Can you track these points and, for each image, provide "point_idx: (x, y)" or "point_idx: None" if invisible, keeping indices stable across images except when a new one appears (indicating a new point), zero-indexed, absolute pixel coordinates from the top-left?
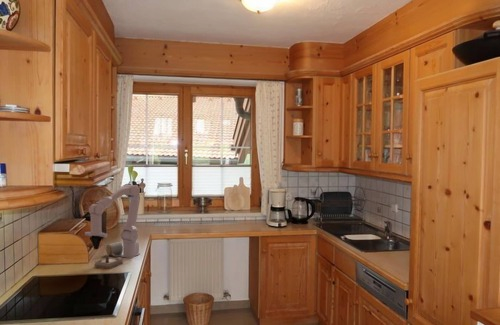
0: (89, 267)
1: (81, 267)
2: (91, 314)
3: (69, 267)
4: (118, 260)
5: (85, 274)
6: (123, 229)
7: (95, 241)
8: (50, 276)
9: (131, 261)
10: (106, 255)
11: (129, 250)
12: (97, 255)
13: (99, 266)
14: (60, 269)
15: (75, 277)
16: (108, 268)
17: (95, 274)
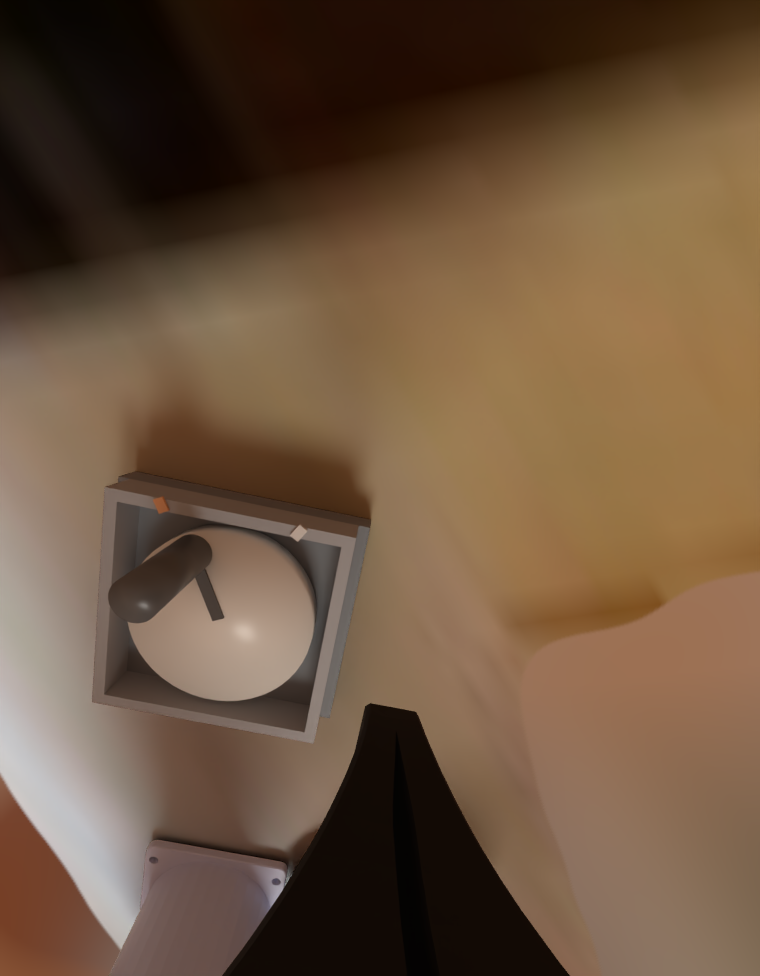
0: (411, 480)
1: (508, 464)
2: None
3: (658, 439)
4: (98, 646)
5: (302, 199)
6: None
7: (325, 900)
8: (736, 9)
9: (78, 744)
10: (140, 592)
11: (137, 954)
12: (551, 871)
13: (295, 507)
14: (736, 342)
15: (360, 39)
16: (164, 477)
17: (176, 225)
